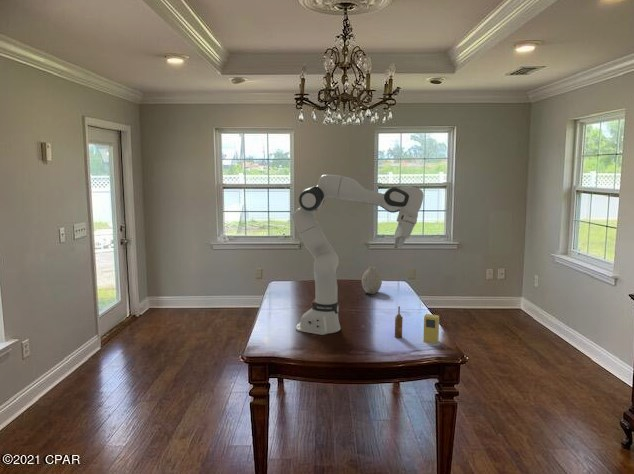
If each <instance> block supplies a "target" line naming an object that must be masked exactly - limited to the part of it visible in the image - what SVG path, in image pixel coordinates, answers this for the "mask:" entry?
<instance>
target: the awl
mask: <svg viewBox="0 0 634 474" xmlns="http://www.w3.org/2000/svg"><path fill="white" fill-rule="evenodd" d="M397 307H398V309H397V310H398V311H397V312H398V313H397V314H396V315H395V316H394V317H395V318H394V322H395V323H394V338H395V339H402V338H403V319H404V318H403V316H402V314H401V306H397Z"/></svg>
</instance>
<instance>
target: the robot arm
mask: <svg viewBox="0 0 634 474" xmlns="http://www.w3.org/2000/svg"><path fill="white" fill-rule="evenodd" d="M327 198H335V199H338V200H343V201H351V202H352V201H354V202H362V203H366V204H369V205H373V206H377V207H381V208H382V209H384V210H385V211H386V212H388V213H393V214H394V213H398V215H397V218H396V222H397V227H396V229H395V232H394V233H393V240H394V245H393V249H395V250H397V249H401V248H403V245H404V244H405V242H406V240H407V239H409V238H410V236H411V234H412V232H413V229H414V228H415V226H416V225H417V221H418V217H419V211H420V210H421V208H422V204H423V201H424V192H423V190H421V188H419V187H417V186H416V185H415V186H414V185H409V186H405V187H389V188H388V189H386V191H385V192H384V193H382V192H378V191H374V190H369V189H367V188H366V187H365V188H364V187H363V186H362V185H361V184H360V183H359V181H357V180H356V179H353V178H352V177H348V176H344V175H338V174H322V175H321V176H320V177H319V179H318V181H317V184H316V185H315V186H312V187H311V186H310V187H307V188H305V189H303V191H301V192H300V194H299V197H298V203H299V205H300V207H298V208H296V210H295V211H294V212H293V213H292V221H293V223H294V226H295V229H296V231H297V233H298V236H299V237H300V238H301V239H300V240H301V242H302V243H303V245H304V247H305V249H307V250H308V252H309V253H310V255H311V256H312V258H313V259H314V261H313V266H312V267H313V277H314V287H315V288H314V289H315V295H314V296H315V298H314V299H313V300H312V302H311V304H310V306H311V308H310V309H308V310H307V311H306V312H304V313H303V314H302V316H301V317H300V322H299V323H297V324H296V326H295V330H296V331H297V332H302V333H303V332H304V333H310V334H314V335H321V336H325V335H328V334H333V333H334V334H335V333H337V332H339V331H340V330H341V329H342V328H341V325H340V324H341V323H340V320H339V308H340V307H339V300H338V295H339V294H338V286H339V285H338V279H337V278H338V277H337V268H338V266H339V264H340V259H339V256H338V253H336V251H335V249H334V248H333V246H332V245H331V244H330V242H329V240H328V238H327V237H326V235H325V233H324V231H323V230H322V228H321V226H320V223H319V221H318V220H317V218H316V214H315V213H316V212H317V211H318V210H319V209H320V208H321V207H322V206H323V204H324V202H325V201H326V200H325V199H327Z"/></svg>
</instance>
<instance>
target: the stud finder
mask: <svg viewBox="0 0 634 474" xmlns="http://www.w3.org/2000/svg"><path fill="white" fill-rule="evenodd" d="M423 319H424V320H423V340H422V341H423V343H431V344H438V342H439V339H440V338H439V337H440V336H439V334H440V333H439V332H440V331H439V330H440V315H438V314H430V313H426V314H425V315H424V318H423Z"/></svg>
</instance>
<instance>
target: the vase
mask: <svg viewBox="0 0 634 474" xmlns="http://www.w3.org/2000/svg"><path fill="white" fill-rule="evenodd" d="M382 280H383V279H382V275H381V273H380V272H379V271H378V270H377V268H376V267H375V266H368V269H366V270H365V272H364V273H363V275H362V277H361V286H362V288H363V289H364V291H365V292H366V294H370V295H373V294H375V295H376V294H377V293H378V292H379V291H380V289H381V287H382V283H383V282H382Z"/></svg>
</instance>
